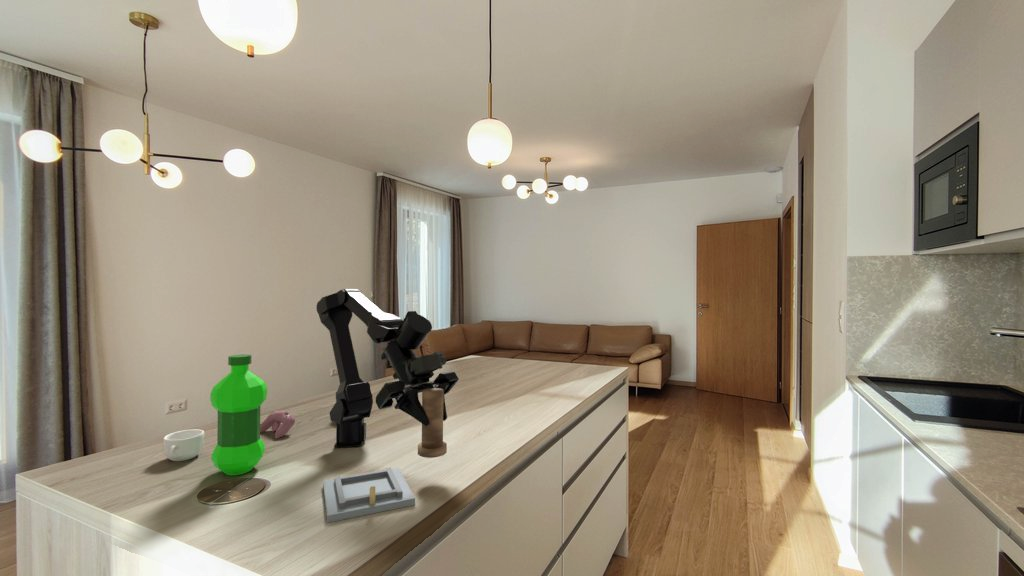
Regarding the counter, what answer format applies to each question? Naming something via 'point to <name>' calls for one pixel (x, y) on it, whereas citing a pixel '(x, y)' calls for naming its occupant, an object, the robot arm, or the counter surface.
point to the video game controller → (278, 423)
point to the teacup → (183, 444)
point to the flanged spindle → (432, 424)
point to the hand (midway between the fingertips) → (436, 422)
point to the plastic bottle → (238, 418)
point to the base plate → (366, 494)
